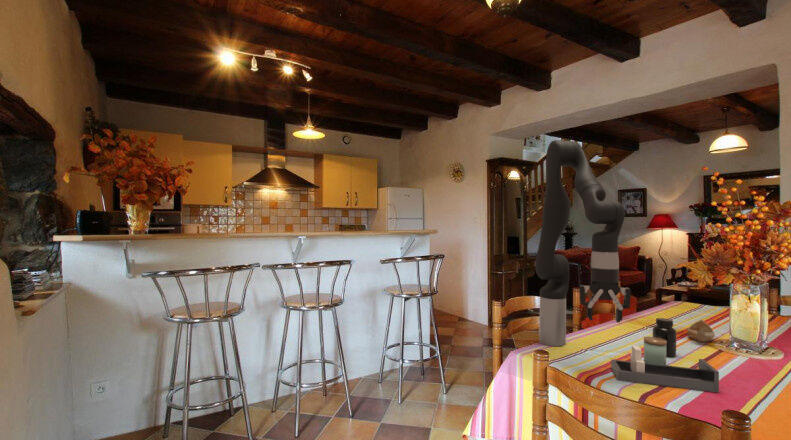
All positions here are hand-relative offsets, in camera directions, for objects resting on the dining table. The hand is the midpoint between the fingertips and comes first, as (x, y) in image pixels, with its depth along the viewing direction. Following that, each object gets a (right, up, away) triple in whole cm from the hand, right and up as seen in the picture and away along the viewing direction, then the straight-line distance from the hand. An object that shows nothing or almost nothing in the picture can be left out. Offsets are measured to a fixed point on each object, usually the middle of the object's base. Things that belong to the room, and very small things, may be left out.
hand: (604, 320), depth 118 cm
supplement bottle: (+30, -16, +16) cm, 38 cm away
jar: (+20, -16, +7) cm, 27 cm away
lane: (+14, -16, -5) cm, 22 cm away
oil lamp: (+55, -16, +33) cm, 66 cm away
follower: (+8, -16, -3) cm, 18 cm away
